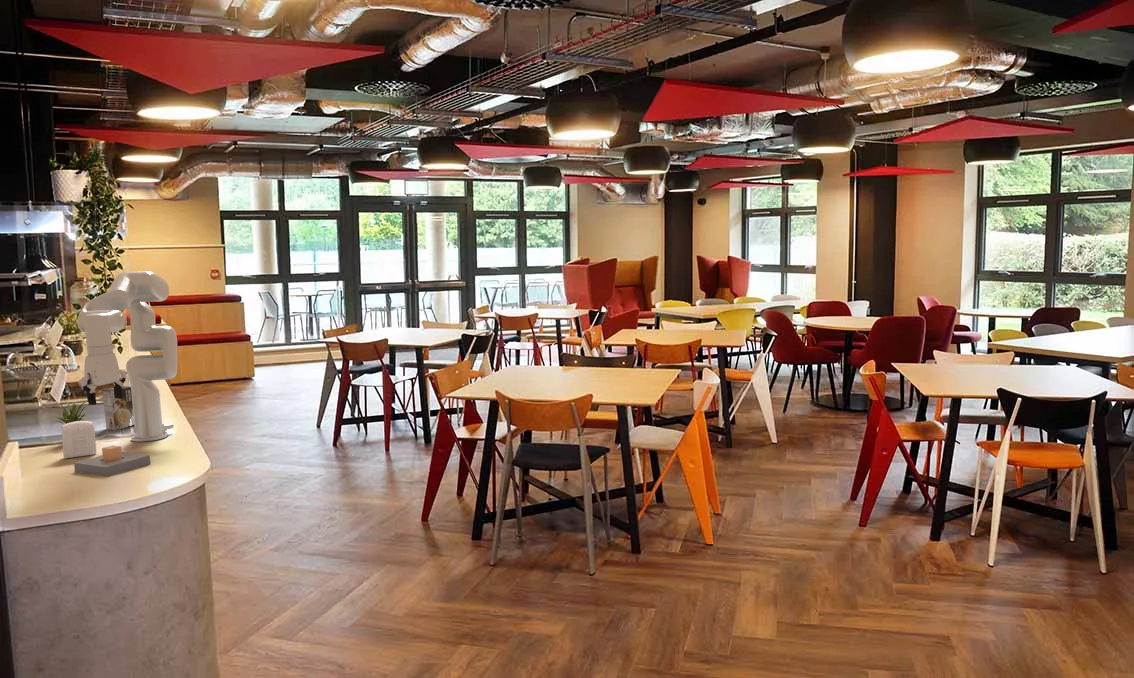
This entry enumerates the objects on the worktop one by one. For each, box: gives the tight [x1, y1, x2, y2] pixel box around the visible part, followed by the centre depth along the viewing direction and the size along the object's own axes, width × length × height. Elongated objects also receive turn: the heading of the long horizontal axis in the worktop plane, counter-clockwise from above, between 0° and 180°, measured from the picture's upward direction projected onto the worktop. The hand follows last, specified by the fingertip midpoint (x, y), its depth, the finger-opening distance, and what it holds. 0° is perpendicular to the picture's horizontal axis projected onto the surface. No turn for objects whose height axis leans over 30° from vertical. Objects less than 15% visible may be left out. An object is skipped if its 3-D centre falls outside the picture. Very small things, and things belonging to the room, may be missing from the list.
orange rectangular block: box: [101, 444, 122, 462], centre depth 294 cm, size 4×4×7 cm
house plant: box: [51, 400, 90, 430], centre depth 334 cm, size 14×14×16 cm
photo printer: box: [60, 420, 98, 459], centre depth 312 cm, size 10×4×12 cm, turn 123°
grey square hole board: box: [73, 451, 151, 477], centre depth 294 cm, size 16×16×3 cm
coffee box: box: [101, 385, 134, 431], centre depth 359 cm, size 9×6×16 cm
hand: (105, 401), depth 296 cm, fingers open, 9 cm apart
